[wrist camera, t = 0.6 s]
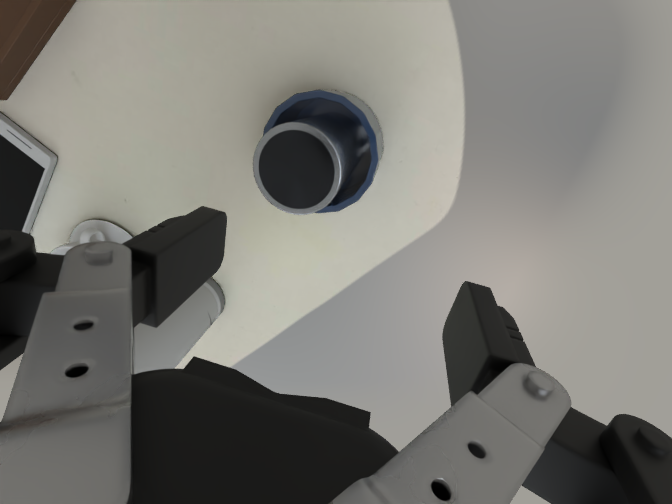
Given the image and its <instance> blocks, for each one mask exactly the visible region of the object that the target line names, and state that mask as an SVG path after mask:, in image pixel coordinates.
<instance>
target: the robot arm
mask: <svg viewBox="0 0 672 504" xmlns="http://www.w3.org/2000/svg"><path fill="white" fill-rule="evenodd" d="M226 225H227V216H226V213H225V212H222V211H218V210H215V209H211V208H208V207H204V206H202V207H200V208H198V209H196V210H194V211H193V212H191V213H189V214H187V215H185V216H184V215H183V216H179V217H174V218H170V219H167V220H165V221H163V222H162V223H160V224H158V225H157V226H154V227H152V228H150V229H148V231H145V232H143V233H141V234H139V235H137V236H135V237H133V238H132V239H130V240H128V241H126V242H124V243H122V244H119V243H116V242H108V241H95V242H88V243H83V244H79V245H77V246H74V247H72V248H71V249H69V250H68V251H67V252H66V254H65V255H57V254H47V253H38V252H36V249H35V243H34V238H33V237H32V236H31V235H30V234H28V233H25V232H22V231H17V230H0V370H1V369H3V368H4V367H5V366H7V365H8V364H9V363H11V362H12V361H13V360H14V359H16V358H17V357H19V356H20V355H21V354H23V353H24V354H23V357H22V360H21V363H20V366H19V370H18V373H17V376H16V379H15V382H14V385H13V388H12V391H11V394H10V398H9V401H8V404H7V407H6V410H5V413H4V416H3V419H2V421H1V422H0V504H510V502H511V500H512V499H513V497H514V496H515V494H516V493H517V491H518V490H519V488H520V486H521V485H522V486H524V487H525V488H527V489H528V490H530V491H532V492H533V493H535V494H536V495H538V496H540V497H541V498H543V499H545V500H546V501H548V502H549V503H551V504H672V438H670V437H669V436H668V435H667V434H665V433H664V432H663V431H661V430H660V429H658V428H656V427H655V426H654V425H652V424H650V423H648V422H646V421H644V420H642V419H640V418H637V417H635V416H631V415H627V414H619V415H616V416H615V417H614V418H613V419H612V421H611V422H610V423H609V424H608V425H607V426H606V425H604V424H602V423H600V422H598V421H596V420H594V419H592V418H590V417H588V416H587V415H585V414H582V413H581V412H578V411H577V410H575V409H573V408H572V407H571V399H570V396H569V394H568V393H567V391H566V390H565V388H564V387H563V386H562V385H561V384H560V383H559V382H558V381H557V380H556V379H554V378H553V377H552V376H550V375H549V374H547V373H546V372H544V371H542V370H541V369H539V368H536V366H535V364H534V362H533V359H532V357H531V355H530V353H529V351H528V348H527V346H526V344H525V342H523V337H522V335H521V333H520V332H519V329H518V327H517V324H516V322H515V320H514V318H513V317H512V316H511V315H510V314H509V313H508V312H507V311H506V310H505V309H504V308H503V307H500V306H497V304H496V301H495V298H494V296H493V293H492V291H491V289H490V288H489V287H485V286H482V285H478V284H475V283H471V282H468V281H465V282H464V283H463V284H462V286H461V288H460V290H459V292H458V294H457V297H456V299H455V301H454V303H453V306H452V308H451V311H450V313H449V315H448V317H447V320H446V322H445V325H444V329H443V347H444V354H445V362H446V369H447V377H448V384H449V393H450V400H451V408H450V409H449V410H447V411H446V412H445V413H444V414H443V415H441V416H440V417H439V418H438V419H437V420H436V421H435V422H433V423H432V424H431V425H430V426H429V427H428V428H427V429H425V430H424V431H423V432H422V433H421V434H420V435H418V436H417V437H416V438H415V439H414V440H413V441H412V442H410V443H409V444H408V445H407V446H406V447H405V448H403V449H402V450H401V451H400V452H398V451H397V450H396V448H395V447H393V446H392V445H391V444H390V443H389V442H388V441H387V440H386V439H384V438H383V437H382V436H380V435H379V434H378V433H376V432H375V431H373V430H371V429H370V428H369V421H370V412H368V411H365V410H361V409H358V408H355V407H352V406H349V405H346V404H343V403H339V402H336V401H333V400H330V399H327V398H318V397H307V396H298V395H287V394H279V393H275V392H273V391H271V390H270V389H268V388H266V387H264V386H263V385H261V384H259V383H258V382H256V381H254V380H253V379H251V378H249V377H247V376H246V375H244V374H242V373H241V372H239V371H237V370H235V369H232V368H229V367H226V366H223V365H219V364H216V363H213V362H210V361H207V360H204V359H200V358H197V357H193V358H192V359H191V361H190V362H189V363H188V364H187V365H186V367H185V368H184V369H158V370H151V371H145V372H141V373H137V374H135V334H134V327H136V326H137V325H138V324H139V323H142V324H145V325H148V326H151V327H155V328H157V327H158V326H159V325H161V324H162V323H163V322H164V321H165V320H166V319H167V318H168V317H169V316H170V315H171V314H172V313H173V312H174V311H175V310H176V309H178V308H179V307H180V306H181V305H182V304H183V303H184V302H185V301H186V300H187V299H188V298H189V297H190V296H191V295H192V294H193V293H195V292H196V291H197V290H198V289H199V288H200V287H201V286H202V285H203V284H204V283H205V282H206V281H207V280H208V279H209V278H210V277H212V276H213V275H214V274H215V273H216V272H217V271H218V269H219V268H220V266H221V263H222V261H223V257H224V248H225V236H226Z"/></svg>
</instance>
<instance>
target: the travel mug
mask: <svg viewBox="0 0 672 504" xmlns="http://www.w3.org/2000/svg"><path fill="white" fill-rule="evenodd" d="M224 305H225V299H224V295H223V292H222V290H221V288H220V287H219V285H218V284H217V283H216V282H215V281H214V280H212V279H211V278H209V279H208V280H207V281H206V282H205V283H204V284H203V285H202V286H201V287H200V288H199V289H198V290H197V291H196V292H195V293H193V294H192V295H191V296H190V297H189V298H188V299H187V300H186V301H185V302H184V303H183V304H182V305H181V306H180V307H179V308H178V309H176V310H175V311H174V312H173V313H172V314H171V315H170V316H169V317H168V318H167V319H166V320H165V321H164V322H163V323H162V324H161V325H159V326H158V327H157V328H155V327H151V326H148V325H145V324H142V323H139V324H138V325H137V326H136V327H134V334H135V374H137V373H141V372H145V371H151V370H158V369H174V368H175V367H176V366H177V365H178V364H179V362H180V361H181V360H182V359H183V358H184V356H185V355H186V354H187V353H188V352H189V351H190V349H191V348H192V347H193V346H194V345H195V344H196V342H197V341H198V340H199V339H200V338H201V336H202V335H203V334H204V333H205V332H206V331H207V329H208V328H209V327H210V326H211V325H212V323H213V322H214V321H215V320H216V319H217V318H218V316H219V315H220V314H221V313H222V311H223V309H224Z"/></svg>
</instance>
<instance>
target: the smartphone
mask: <svg viewBox="0 0 672 504" xmlns="http://www.w3.org/2000/svg"><path fill="white" fill-rule="evenodd" d="M56 163H57V156H56V155H55V154H53V153H52V152H51V151H50V150H48V149H47V148H46V147H44V146H43V145H42V144H41V143H39V142H38V141H37V140H35V139H34V138H33V137H32V136H30V135H29V134H28V133H26V132H25V131H24V130H23V129H21V128H20V127H19V126H17V125H16V124H15V123H14V122H12V121H11V120H10V119H8V118H7V117H6V116H5V115H3V114H2V113H1V112H0V230H17V231H22V232H25V233H28V234H29V233H30V230H31V228H32V225H33V223H34V220H35V217H36V215H37V212H38V210H39V207H40V204H41V202H42V199H43V197H44V194H45V191H46V189H47V186H48V184H49V181H50V178H51V176H52V173H53V170H54V168H55V165H56Z"/></svg>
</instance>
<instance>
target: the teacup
mask: <svg viewBox="0 0 672 504" xmlns="http://www.w3.org/2000/svg"><path fill="white" fill-rule="evenodd" d="M132 238H133V237H132V236H131V235H129V234H128V233H127V232H126V231H124V230H123V229H122V228H120V227H118V226H116V225H114V224H112V223H110V222H107V221H103V220H88V221H84V222H82V223H80V224H79V225H77V226H76V227H75V229H74V230H73V232H72V234H71V236H70V241H69V244H66V245H62V246H59V247H57V248H55V249H54V250H52V251H51V252H50V254H57V255H65V254H66V252H67V251H68V250H69V249H71V248H72V247H74V246H77V245H79V244H83V243H88V242H95V241H108V242H116V243H119V244H122V243H124V242H126V241H128V240H130V239H132Z"/></svg>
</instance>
